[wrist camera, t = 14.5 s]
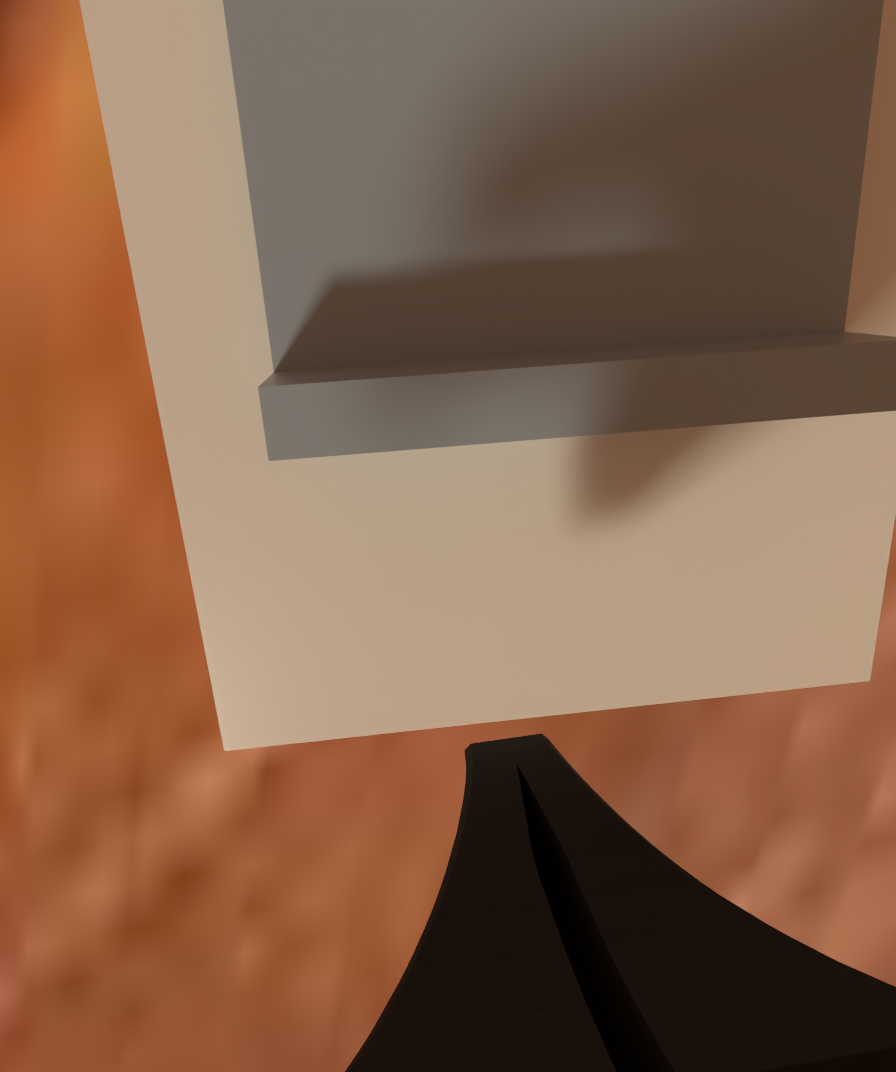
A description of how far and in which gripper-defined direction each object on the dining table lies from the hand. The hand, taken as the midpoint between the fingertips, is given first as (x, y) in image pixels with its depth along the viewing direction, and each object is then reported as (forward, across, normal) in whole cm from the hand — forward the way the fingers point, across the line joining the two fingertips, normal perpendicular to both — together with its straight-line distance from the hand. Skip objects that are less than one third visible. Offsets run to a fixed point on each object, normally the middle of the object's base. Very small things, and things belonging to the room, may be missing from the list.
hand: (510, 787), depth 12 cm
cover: (+5, -2, -11) cm, 12 cm away
